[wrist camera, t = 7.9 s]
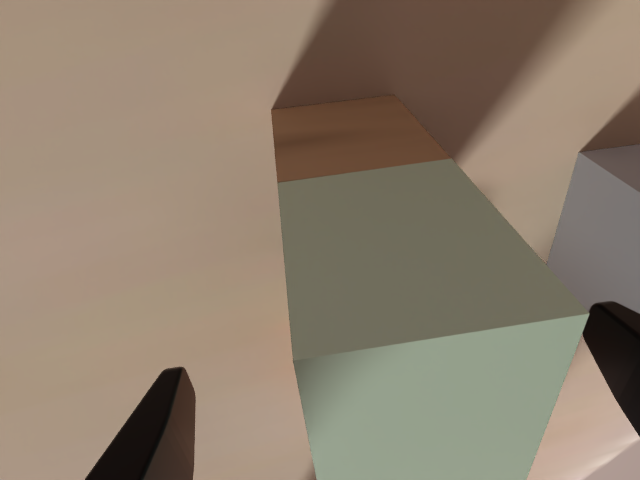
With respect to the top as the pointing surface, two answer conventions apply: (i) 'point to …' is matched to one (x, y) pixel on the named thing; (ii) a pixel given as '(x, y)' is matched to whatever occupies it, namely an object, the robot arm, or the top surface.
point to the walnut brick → (349, 138)
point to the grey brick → (601, 229)
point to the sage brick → (420, 327)
